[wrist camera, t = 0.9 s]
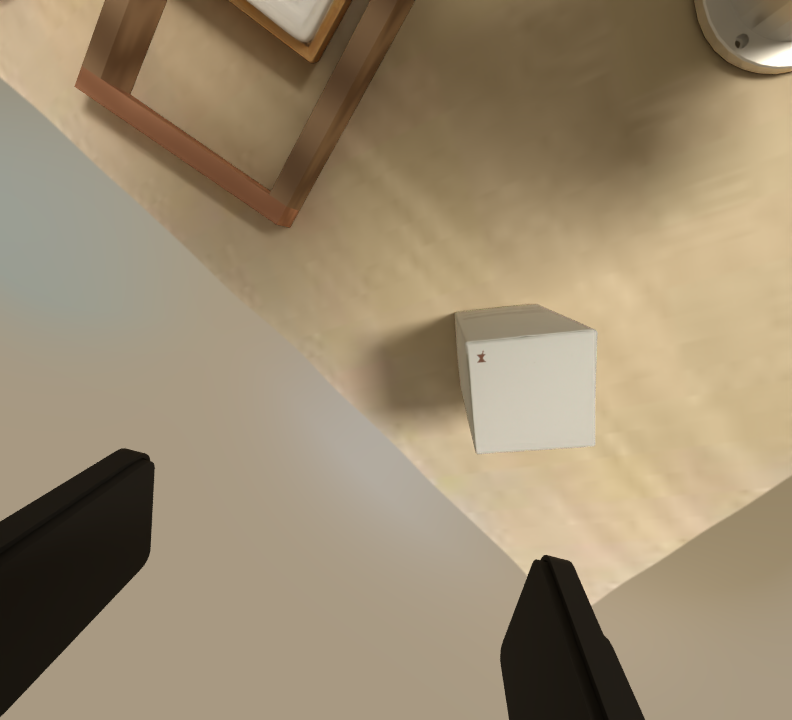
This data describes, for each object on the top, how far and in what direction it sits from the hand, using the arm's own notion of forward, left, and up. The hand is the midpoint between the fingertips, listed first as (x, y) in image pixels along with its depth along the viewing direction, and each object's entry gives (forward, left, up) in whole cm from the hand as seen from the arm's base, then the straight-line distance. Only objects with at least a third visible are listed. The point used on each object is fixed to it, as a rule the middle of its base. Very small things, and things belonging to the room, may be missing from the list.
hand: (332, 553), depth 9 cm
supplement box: (-4, +7, -27) cm, 29 cm away
